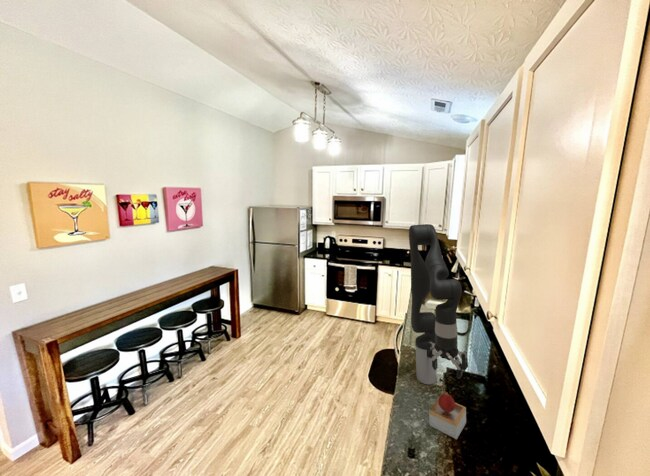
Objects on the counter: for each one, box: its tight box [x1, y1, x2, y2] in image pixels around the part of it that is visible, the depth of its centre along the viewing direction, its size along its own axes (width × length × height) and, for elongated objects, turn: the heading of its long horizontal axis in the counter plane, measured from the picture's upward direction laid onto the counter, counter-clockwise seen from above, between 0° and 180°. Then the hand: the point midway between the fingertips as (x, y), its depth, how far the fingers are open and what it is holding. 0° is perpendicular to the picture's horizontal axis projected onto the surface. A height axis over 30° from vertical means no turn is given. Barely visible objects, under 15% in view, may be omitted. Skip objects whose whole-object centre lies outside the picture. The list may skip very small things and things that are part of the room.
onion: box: [438, 392, 456, 413], centre depth 105 cm, size 6×6×8 cm
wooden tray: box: [428, 395, 467, 440], centre depth 106 cm, size 13×10×6 cm
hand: (446, 373), depth 103 cm, fingers open, 8 cm apart
